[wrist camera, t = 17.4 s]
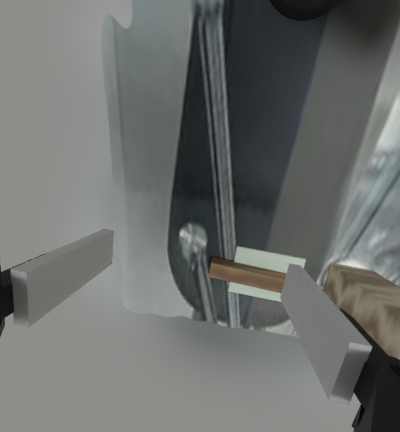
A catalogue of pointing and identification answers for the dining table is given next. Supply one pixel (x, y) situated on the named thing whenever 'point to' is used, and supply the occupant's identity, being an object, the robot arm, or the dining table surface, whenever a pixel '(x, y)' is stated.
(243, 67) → the dining table surface
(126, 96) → the dining table surface
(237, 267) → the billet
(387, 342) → the wooden block tower
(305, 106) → the dining table surface
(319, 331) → the robot arm
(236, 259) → the mat
